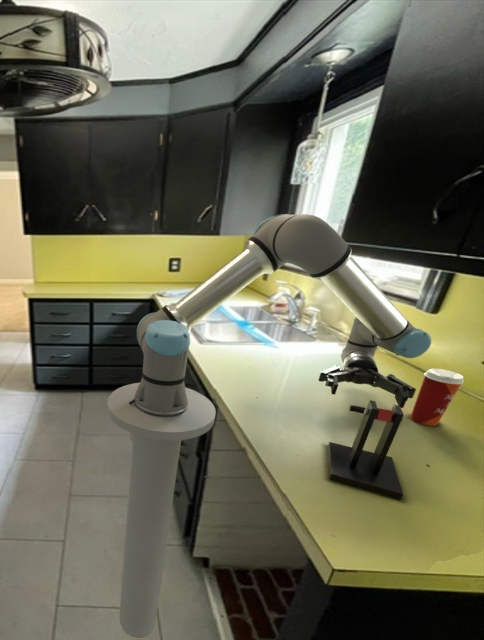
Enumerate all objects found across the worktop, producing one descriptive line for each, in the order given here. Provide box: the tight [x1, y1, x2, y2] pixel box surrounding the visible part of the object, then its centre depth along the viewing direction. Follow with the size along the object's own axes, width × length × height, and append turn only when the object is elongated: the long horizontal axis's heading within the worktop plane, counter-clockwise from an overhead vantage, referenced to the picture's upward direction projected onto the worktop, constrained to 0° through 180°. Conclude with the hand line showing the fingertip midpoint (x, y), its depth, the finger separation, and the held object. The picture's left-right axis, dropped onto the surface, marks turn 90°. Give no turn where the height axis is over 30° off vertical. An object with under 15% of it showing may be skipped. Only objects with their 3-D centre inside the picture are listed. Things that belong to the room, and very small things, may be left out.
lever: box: [348, 404, 393, 423], centre depth 77 cm, size 12×8×2 cm, turn 150°
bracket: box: [327, 399, 405, 501], centre depth 76 cm, size 14×12×16 cm
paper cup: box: [410, 368, 465, 427], centre depth 96 cm, size 8×8×14 cm
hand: (367, 396), depth 88 cm, fingers open, 13 cm apart
